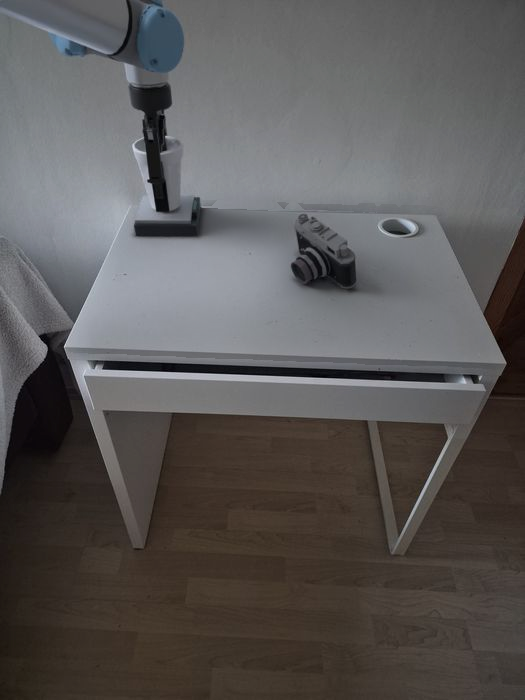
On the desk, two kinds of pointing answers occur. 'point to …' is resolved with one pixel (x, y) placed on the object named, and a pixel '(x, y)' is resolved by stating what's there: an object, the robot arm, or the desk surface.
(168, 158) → the cup
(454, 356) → the desk surface
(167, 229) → the scale
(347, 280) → the camera
